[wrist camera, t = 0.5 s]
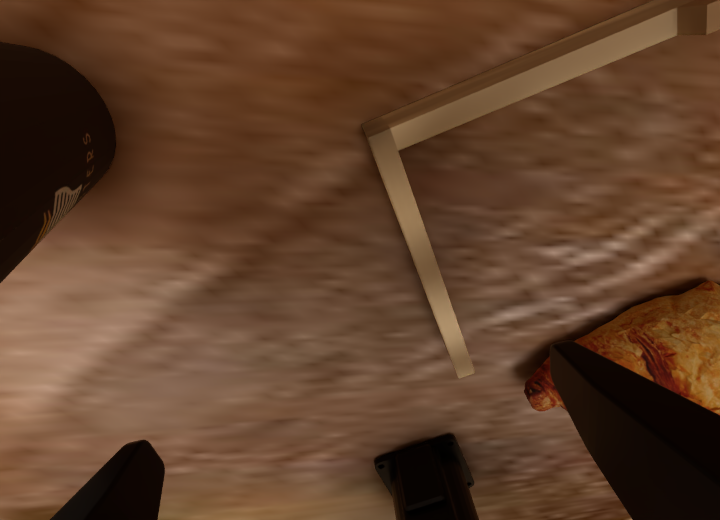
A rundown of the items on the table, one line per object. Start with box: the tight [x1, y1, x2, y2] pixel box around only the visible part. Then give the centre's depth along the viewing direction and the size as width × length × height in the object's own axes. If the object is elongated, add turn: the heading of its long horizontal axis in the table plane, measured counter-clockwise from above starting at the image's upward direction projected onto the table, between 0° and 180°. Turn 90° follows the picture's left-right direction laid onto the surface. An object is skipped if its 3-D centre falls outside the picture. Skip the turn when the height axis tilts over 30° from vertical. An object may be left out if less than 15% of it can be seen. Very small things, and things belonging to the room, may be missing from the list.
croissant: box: [524, 281, 720, 415], centre depth 26 cm, size 21×10×8 cm, turn 102°
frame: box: [362, 0, 720, 378], centre depth 20 cm, size 15×28×4 cm, turn 112°
